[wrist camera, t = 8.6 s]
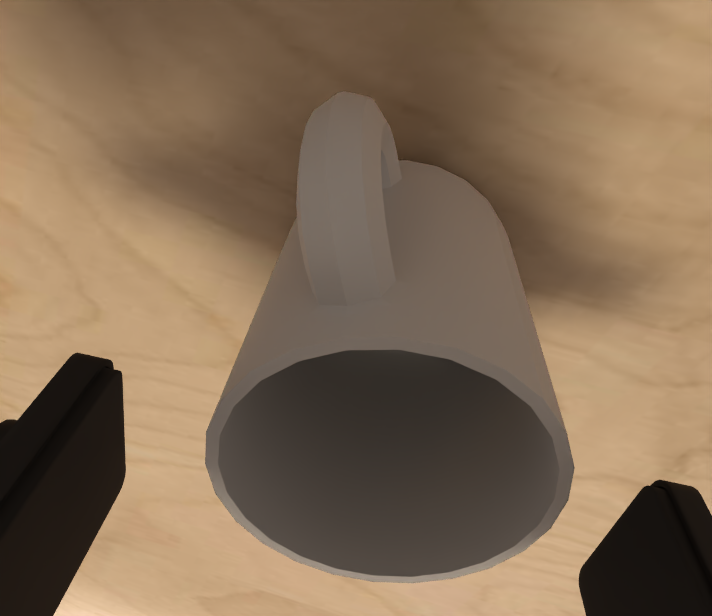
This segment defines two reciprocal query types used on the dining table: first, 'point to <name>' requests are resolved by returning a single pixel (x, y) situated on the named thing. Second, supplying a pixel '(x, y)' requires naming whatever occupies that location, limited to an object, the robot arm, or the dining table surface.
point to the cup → (390, 375)
